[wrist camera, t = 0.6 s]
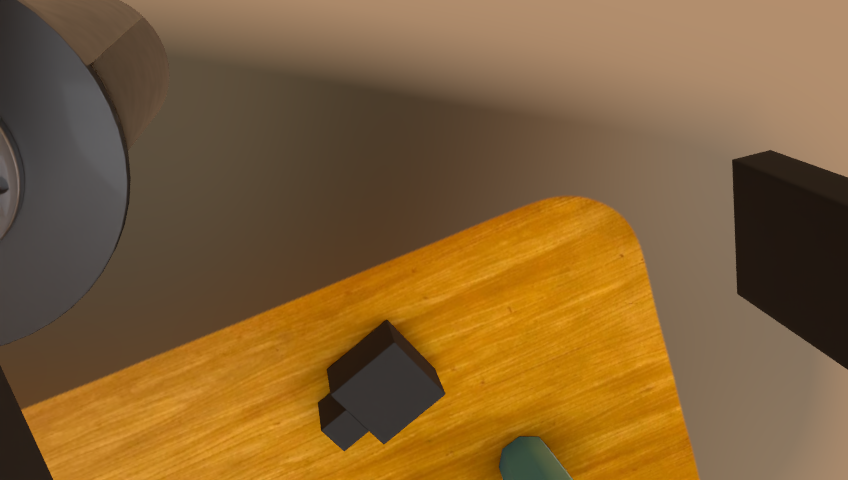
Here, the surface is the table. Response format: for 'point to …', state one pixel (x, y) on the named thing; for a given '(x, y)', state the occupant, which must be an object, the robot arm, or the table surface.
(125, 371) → the table surface
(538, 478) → the cup
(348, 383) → the tab pad
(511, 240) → the table surface
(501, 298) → the table surface
